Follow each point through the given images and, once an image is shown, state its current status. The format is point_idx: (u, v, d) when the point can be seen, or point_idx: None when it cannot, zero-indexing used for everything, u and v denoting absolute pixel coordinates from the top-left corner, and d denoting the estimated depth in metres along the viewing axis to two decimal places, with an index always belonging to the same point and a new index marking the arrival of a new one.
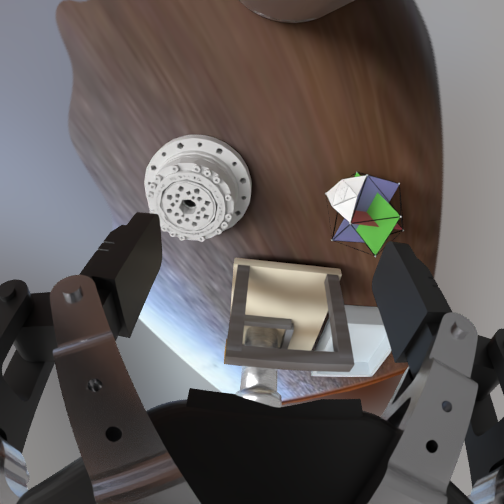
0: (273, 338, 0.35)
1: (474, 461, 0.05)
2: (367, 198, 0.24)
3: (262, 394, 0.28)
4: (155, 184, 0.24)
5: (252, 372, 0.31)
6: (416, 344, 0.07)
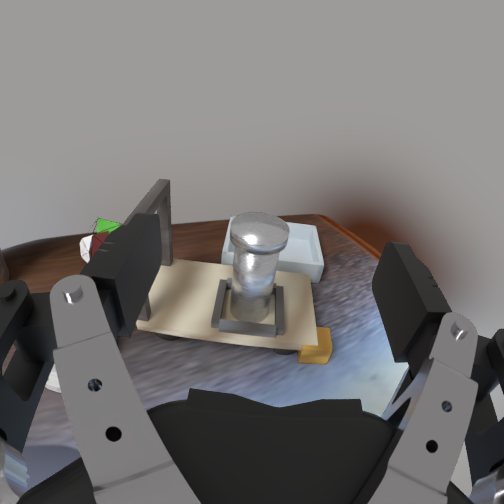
0: None
1: (474, 461, 0.05)
2: None
3: None
4: None
5: (235, 262, 0.27)
6: (416, 344, 0.07)
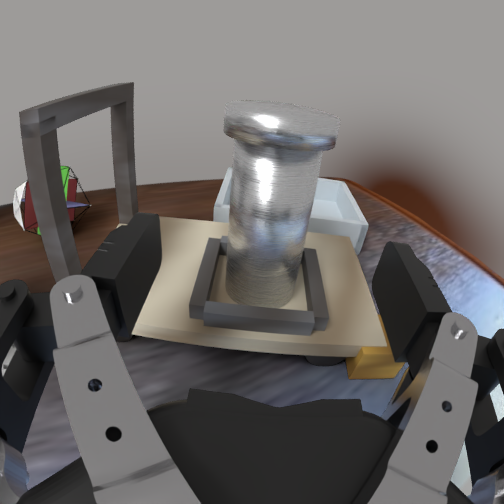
0: None
1: (474, 461, 0.05)
2: None
3: None
4: None
5: (234, 182, 0.13)
6: (416, 344, 0.07)
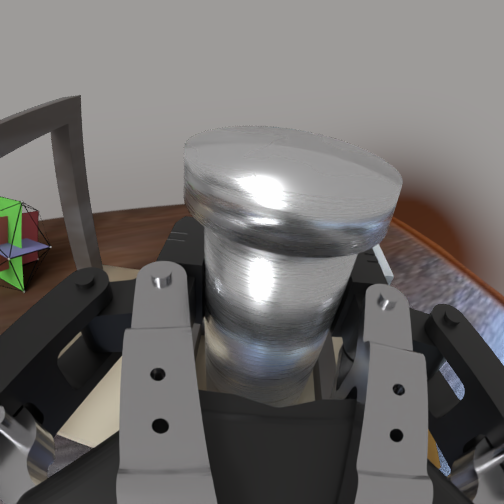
0: None
1: (443, 442, 0.06)
2: None
3: None
4: None
5: (207, 282, 0.08)
6: (347, 316, 0.08)
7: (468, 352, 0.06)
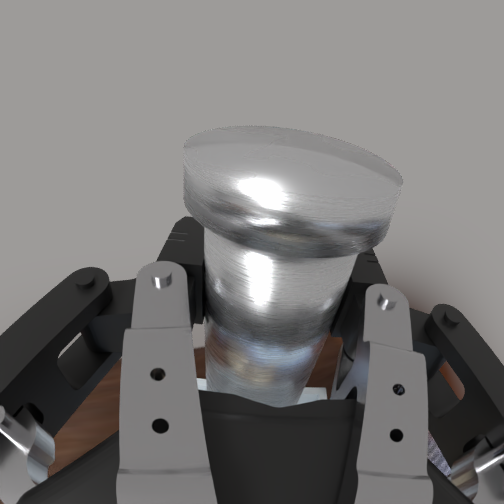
0: None
1: (443, 442, 0.06)
2: None
3: None
4: None
5: (207, 282, 0.08)
6: (347, 316, 0.08)
7: (468, 352, 0.06)
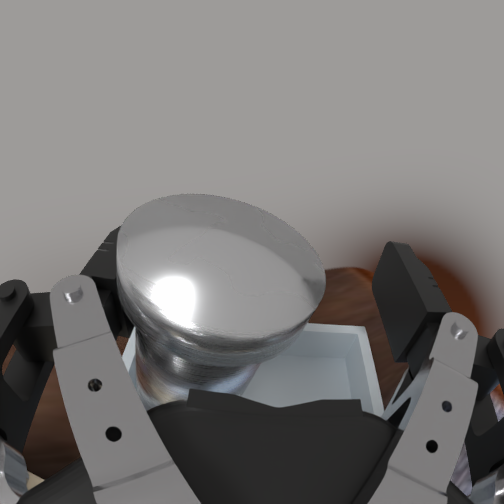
0: None
1: (474, 461, 0.05)
2: None
3: None
4: None
5: (136, 342, 0.08)
6: (416, 344, 0.07)
7: None
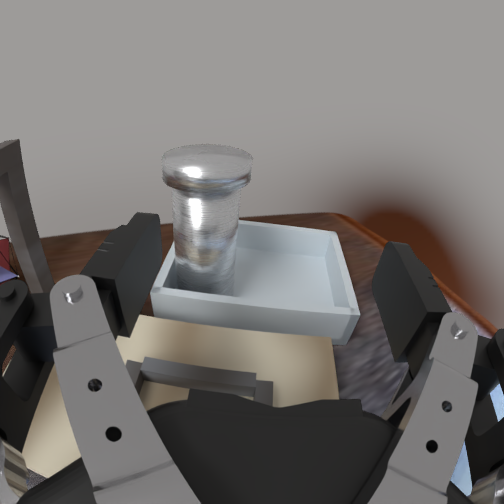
0: None
1: (474, 461, 0.05)
2: None
3: None
4: None
5: (173, 214, 0.18)
6: (416, 344, 0.07)
7: None
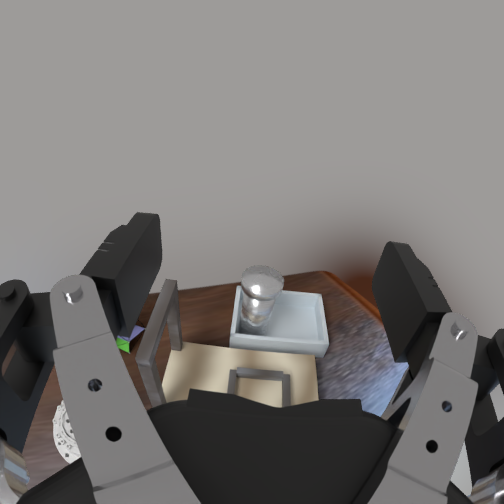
0: None
1: (474, 461, 0.05)
2: None
3: None
4: (63, 440, 0.22)
5: (244, 302, 0.38)
6: (416, 344, 0.07)
7: None
